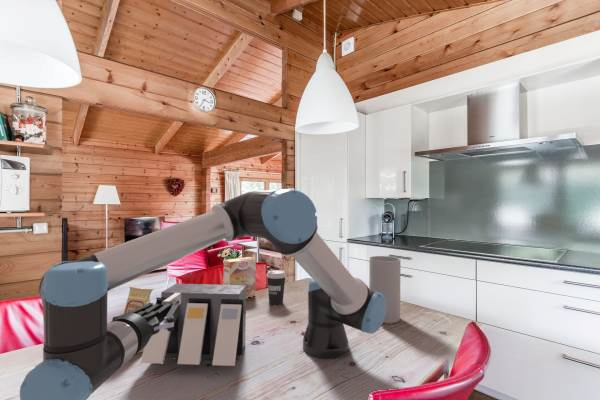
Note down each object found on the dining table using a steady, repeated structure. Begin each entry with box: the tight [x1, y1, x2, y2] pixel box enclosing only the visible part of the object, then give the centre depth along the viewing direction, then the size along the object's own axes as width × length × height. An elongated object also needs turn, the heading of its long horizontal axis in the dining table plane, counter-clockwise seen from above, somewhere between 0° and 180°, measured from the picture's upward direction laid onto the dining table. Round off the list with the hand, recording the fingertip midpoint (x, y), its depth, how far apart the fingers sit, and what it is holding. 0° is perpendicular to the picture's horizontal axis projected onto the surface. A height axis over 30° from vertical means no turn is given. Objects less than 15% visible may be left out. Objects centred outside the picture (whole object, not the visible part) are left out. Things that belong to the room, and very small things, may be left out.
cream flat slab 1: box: [176, 303, 208, 365], centre depth 87 cm, size 1×6×16 cm, turn 88°
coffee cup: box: [266, 269, 287, 306], centre depth 143 cm, size 10×10×15 cm
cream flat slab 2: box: [211, 304, 242, 367], centre depth 86 cm, size 1×6×16 cm, turn 89°
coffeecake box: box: [222, 256, 257, 299], centre depth 151 cm, size 15×7×20 cm, turn 131°
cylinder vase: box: [368, 255, 401, 325], centre depth 126 cm, size 12×12×25 cm
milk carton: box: [122, 285, 155, 353], centre depth 99 cm, size 9×9×20 cm
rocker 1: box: [140, 302, 170, 364], centre depth 87 cm, size 1×6×16 cm, turn 88°
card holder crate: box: [155, 283, 247, 362], centre depth 96 cm, size 10×27×20 cm, turn 88°
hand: (178, 298), depth 77 cm, fingers closed
